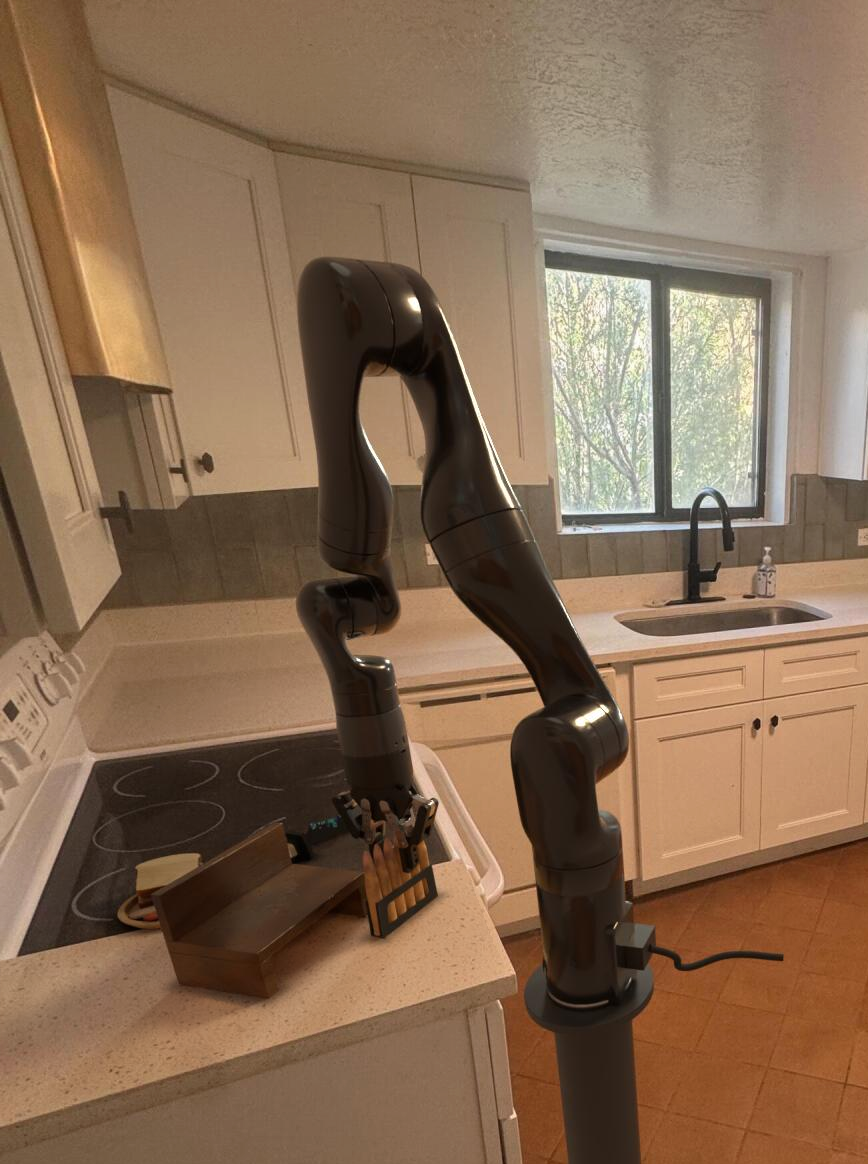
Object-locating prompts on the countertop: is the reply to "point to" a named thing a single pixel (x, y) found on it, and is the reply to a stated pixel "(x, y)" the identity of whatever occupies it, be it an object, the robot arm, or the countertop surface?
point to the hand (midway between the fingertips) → (397, 867)
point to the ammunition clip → (395, 887)
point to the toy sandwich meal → (154, 887)
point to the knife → (314, 836)
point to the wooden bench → (248, 912)
